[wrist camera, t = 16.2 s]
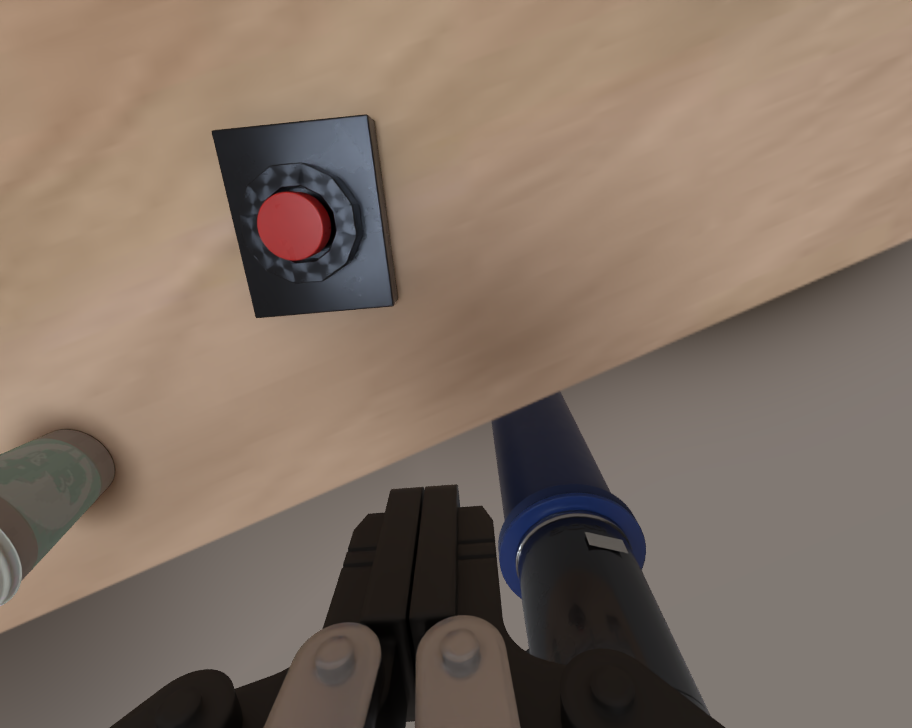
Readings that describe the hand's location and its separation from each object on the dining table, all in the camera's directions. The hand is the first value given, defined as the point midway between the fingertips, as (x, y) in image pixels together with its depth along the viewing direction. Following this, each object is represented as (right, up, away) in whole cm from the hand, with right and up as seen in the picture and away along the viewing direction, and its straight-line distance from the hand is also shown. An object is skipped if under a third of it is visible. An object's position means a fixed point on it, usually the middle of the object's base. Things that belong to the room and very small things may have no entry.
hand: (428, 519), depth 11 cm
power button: (-8, +12, +17) cm, 22 cm away
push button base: (-8, +13, +20) cm, 25 cm away
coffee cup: (-29, -4, +26) cm, 39 cm away
